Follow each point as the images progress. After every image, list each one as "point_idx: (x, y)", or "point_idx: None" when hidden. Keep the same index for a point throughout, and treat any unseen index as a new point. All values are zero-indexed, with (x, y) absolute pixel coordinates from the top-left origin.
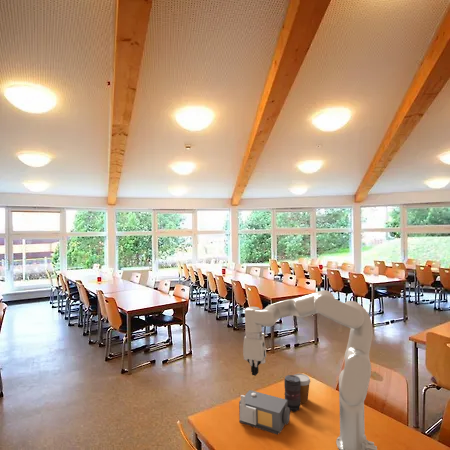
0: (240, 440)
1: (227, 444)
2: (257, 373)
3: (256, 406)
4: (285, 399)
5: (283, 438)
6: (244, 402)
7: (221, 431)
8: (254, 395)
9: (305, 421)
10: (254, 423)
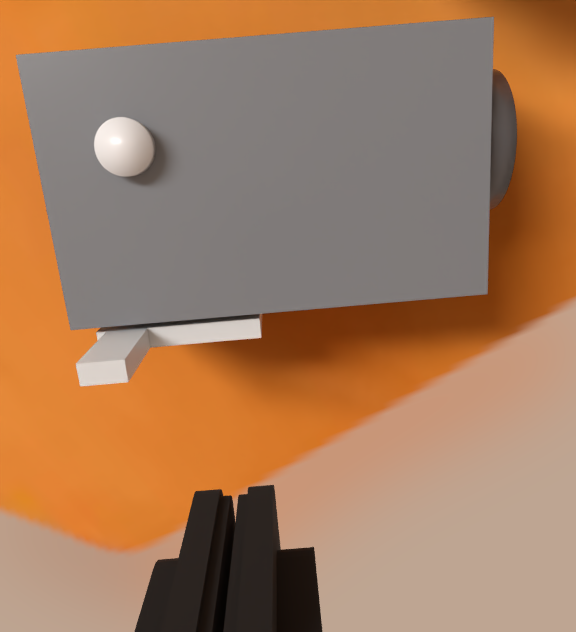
0: (240, 448)
1: None
2: (274, 494)
3: (257, 312)
4: (469, 20)
5: None
6: (142, 359)
7: (91, 444)
8: (146, 165)
9: (568, 8)
10: None
